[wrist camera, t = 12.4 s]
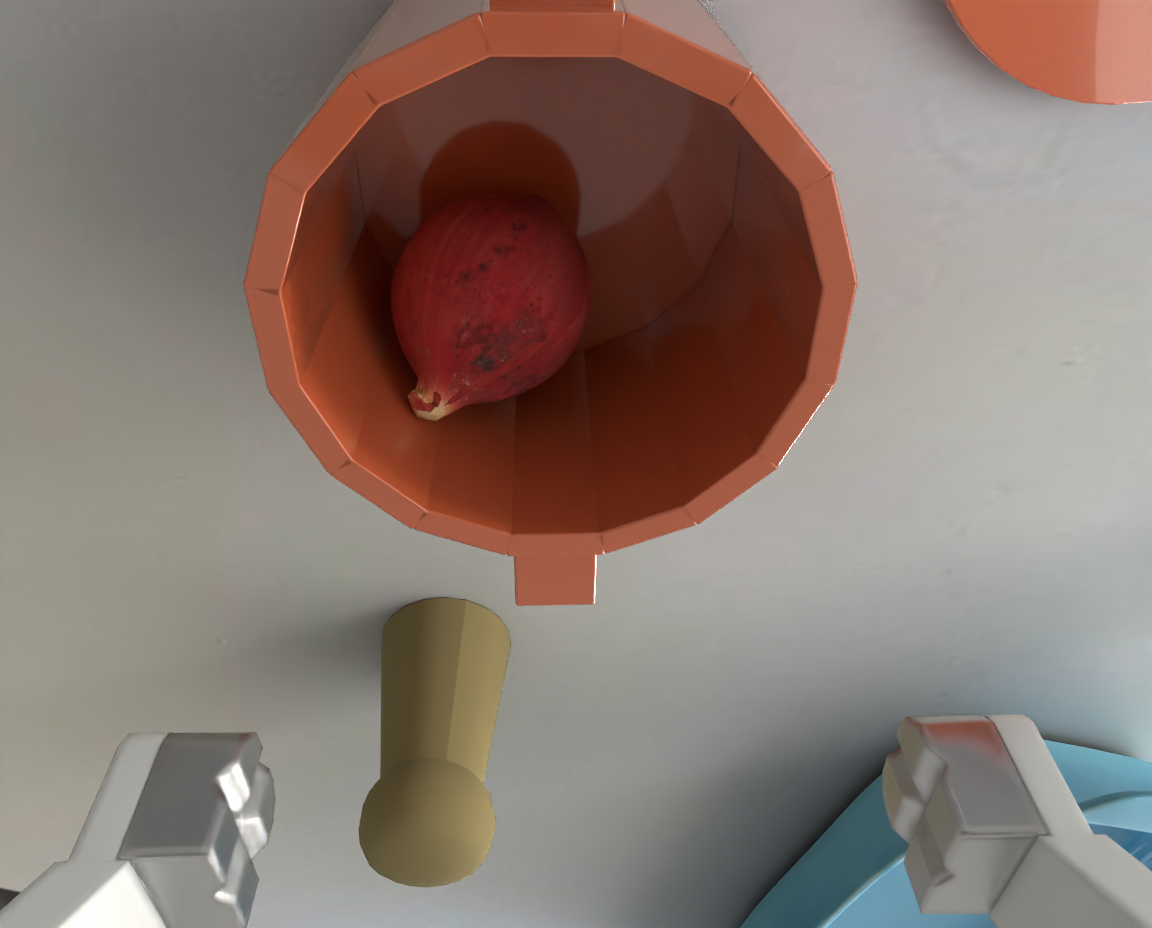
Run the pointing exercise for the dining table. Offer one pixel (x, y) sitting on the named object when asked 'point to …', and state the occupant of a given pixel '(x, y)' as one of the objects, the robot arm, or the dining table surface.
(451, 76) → the pot
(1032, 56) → the pot lid
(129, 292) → the dining table surface
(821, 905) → the casserole dish
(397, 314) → the onion
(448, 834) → the olive pawn piece
